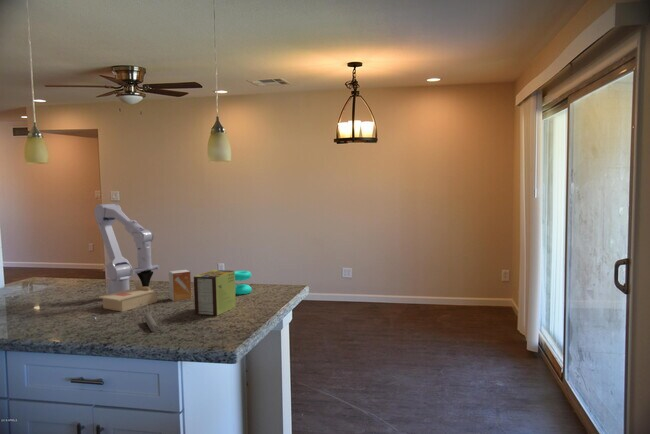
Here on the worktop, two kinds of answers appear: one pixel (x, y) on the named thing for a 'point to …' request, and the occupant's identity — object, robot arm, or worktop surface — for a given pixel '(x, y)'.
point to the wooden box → (130, 302)
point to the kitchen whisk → (149, 319)
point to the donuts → (242, 287)
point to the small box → (180, 285)
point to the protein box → (214, 292)
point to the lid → (128, 293)
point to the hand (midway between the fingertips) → (145, 287)
